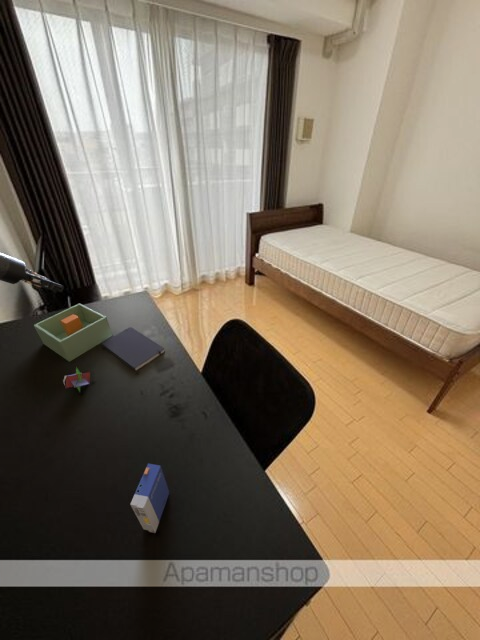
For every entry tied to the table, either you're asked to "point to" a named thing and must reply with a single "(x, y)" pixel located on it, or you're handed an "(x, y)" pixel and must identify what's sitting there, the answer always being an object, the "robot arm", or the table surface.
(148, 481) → the walkman
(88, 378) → the geometric puzzle
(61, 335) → the bin
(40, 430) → the table surface
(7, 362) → the table surface
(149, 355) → the notebook
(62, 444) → the table surface
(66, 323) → the block
